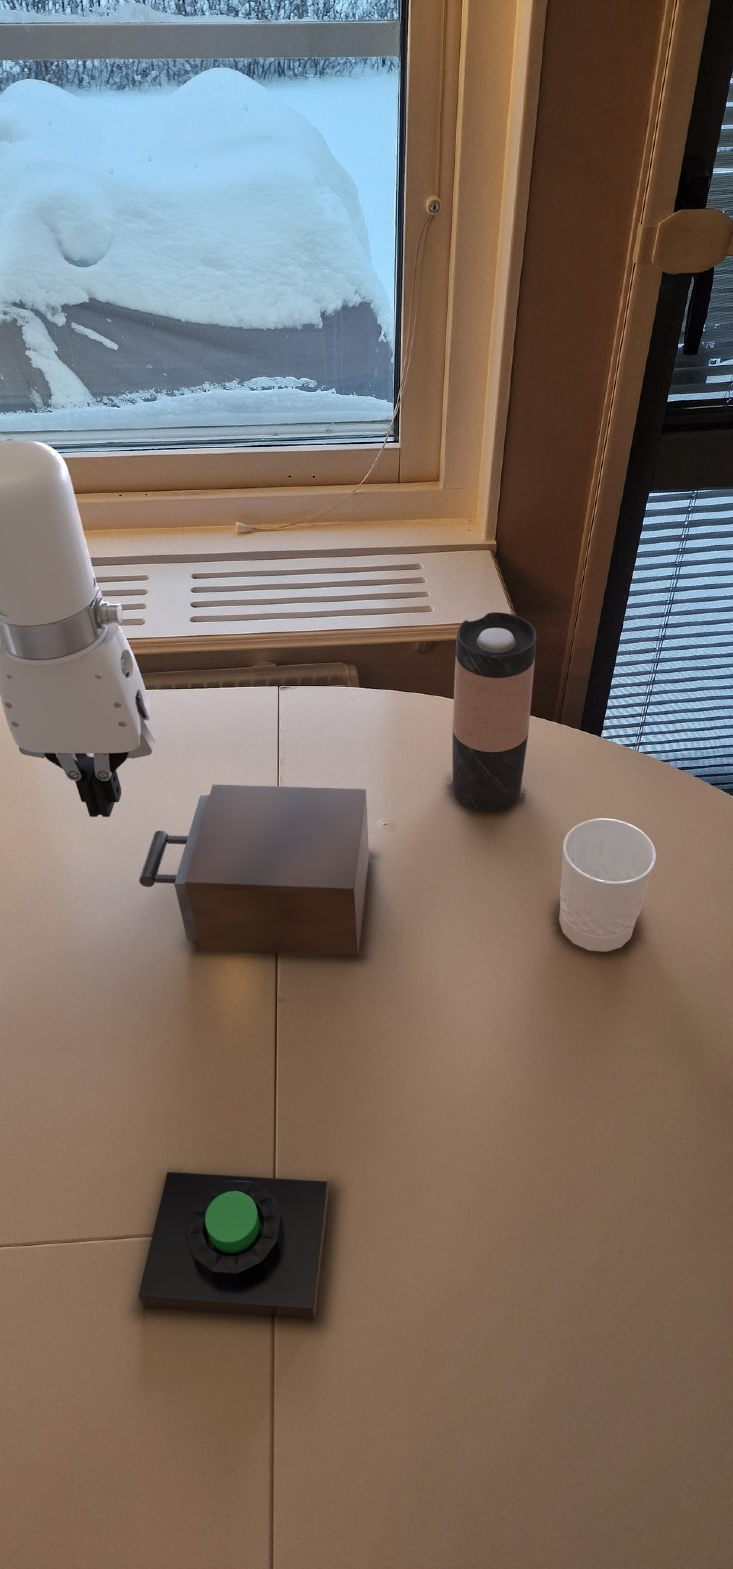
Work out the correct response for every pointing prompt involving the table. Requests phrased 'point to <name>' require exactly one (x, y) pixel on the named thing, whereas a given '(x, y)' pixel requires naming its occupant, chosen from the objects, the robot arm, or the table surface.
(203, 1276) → the control block
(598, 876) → the white cup
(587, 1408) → the table surface
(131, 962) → the table surface
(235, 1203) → the button
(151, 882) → the drawer
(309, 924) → the cabinet
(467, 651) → the travel mug
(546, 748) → the table surface
